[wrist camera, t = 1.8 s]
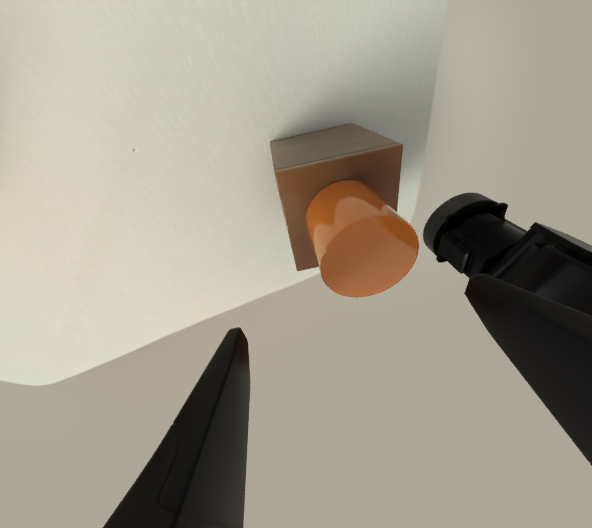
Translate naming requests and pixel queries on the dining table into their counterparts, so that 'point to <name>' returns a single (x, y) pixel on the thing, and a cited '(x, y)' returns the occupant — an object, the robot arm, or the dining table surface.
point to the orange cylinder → (359, 239)
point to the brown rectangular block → (330, 174)
